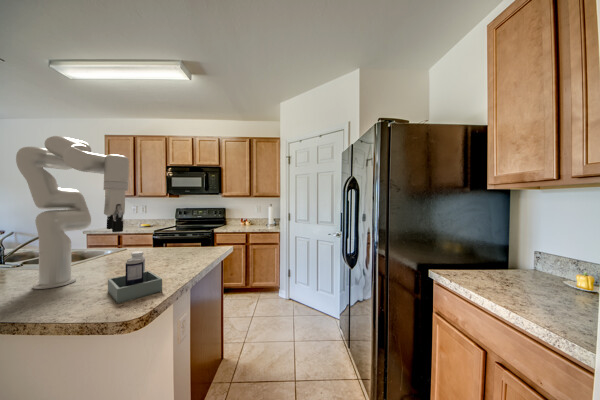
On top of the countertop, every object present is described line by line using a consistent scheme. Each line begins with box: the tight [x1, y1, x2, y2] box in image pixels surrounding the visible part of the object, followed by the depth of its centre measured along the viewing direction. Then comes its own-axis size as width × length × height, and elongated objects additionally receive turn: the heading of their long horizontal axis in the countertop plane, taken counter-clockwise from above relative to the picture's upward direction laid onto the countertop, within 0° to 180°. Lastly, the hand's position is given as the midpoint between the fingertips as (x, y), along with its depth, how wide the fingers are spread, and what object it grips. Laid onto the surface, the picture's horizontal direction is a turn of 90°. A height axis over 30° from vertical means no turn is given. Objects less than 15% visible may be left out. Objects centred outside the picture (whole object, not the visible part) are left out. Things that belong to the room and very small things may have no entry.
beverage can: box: [125, 257, 143, 287], centre depth 90 cm, size 6×6×12 cm
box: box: [107, 270, 163, 304], centre depth 90 cm, size 16×14×5 cm
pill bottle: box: [129, 250, 146, 272], centre depth 109 cm, size 6×6×11 cm
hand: (114, 230), depth 90 cm, fingers open, 9 cm apart
